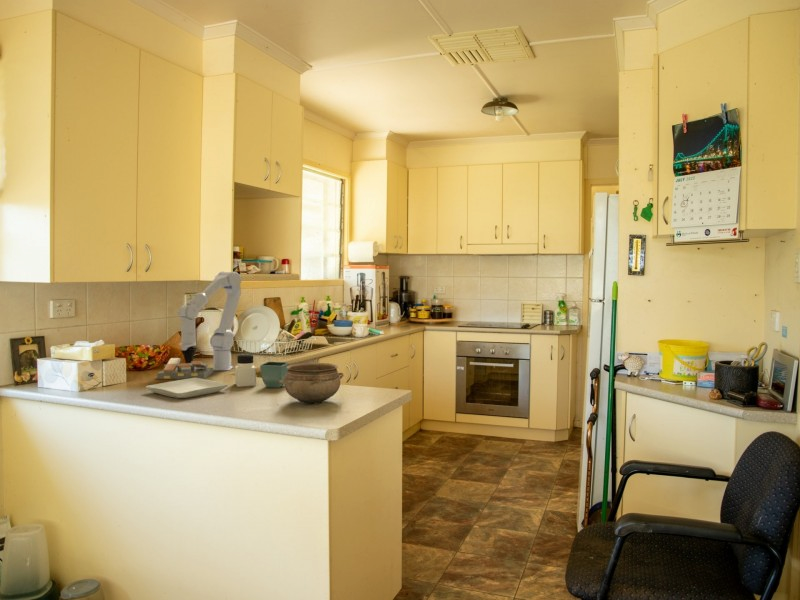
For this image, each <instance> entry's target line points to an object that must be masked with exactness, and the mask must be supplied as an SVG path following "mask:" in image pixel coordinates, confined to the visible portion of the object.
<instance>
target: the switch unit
mask: <svg viewBox="0 0 800 600" xmlns="http://www.w3.org/2000/svg"><path fill="white" fill-rule="evenodd" d="M166 365H167V364H164V365H163V370H160V371H159V372H157V373H156V375H157V380H175V379H176V380H184V379H190V378H200V379H206V378H208V377H209V376H211V375H213V374H214V370H213V368H214V367H208V364H206V365H204V368H197V367H195V366H193V365H191V366H190V367H182V366H177V368H176V369H175V371H174V372H164V368H165V367H166Z"/></svg>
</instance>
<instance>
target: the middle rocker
mask: <svg viewBox="0 0 800 600" xmlns="http://www.w3.org/2000/svg"><path fill="white" fill-rule="evenodd" d="M191 365H192V364H191V363H186V362H179V363H177V366H181V367H191Z"/></svg>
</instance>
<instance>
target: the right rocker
mask: <svg viewBox="0 0 800 600" xmlns="http://www.w3.org/2000/svg"><path fill="white" fill-rule="evenodd" d="M191 364H192V365H193V366H194V368H204V365H207V364H206V363H204V362H203V361H202V360H198V361H197V360H196V361H195V360H193V361H191Z"/></svg>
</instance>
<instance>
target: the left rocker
mask: <svg viewBox="0 0 800 600" xmlns="http://www.w3.org/2000/svg"><path fill="white" fill-rule="evenodd" d="M181 360H182V359H181V357H171V358H170V359H169V360H168V362H167V364H165V365H166V367H165V368H164V367H163V370H164V372H174V371H175V369H176V368H177V363H181Z"/></svg>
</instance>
